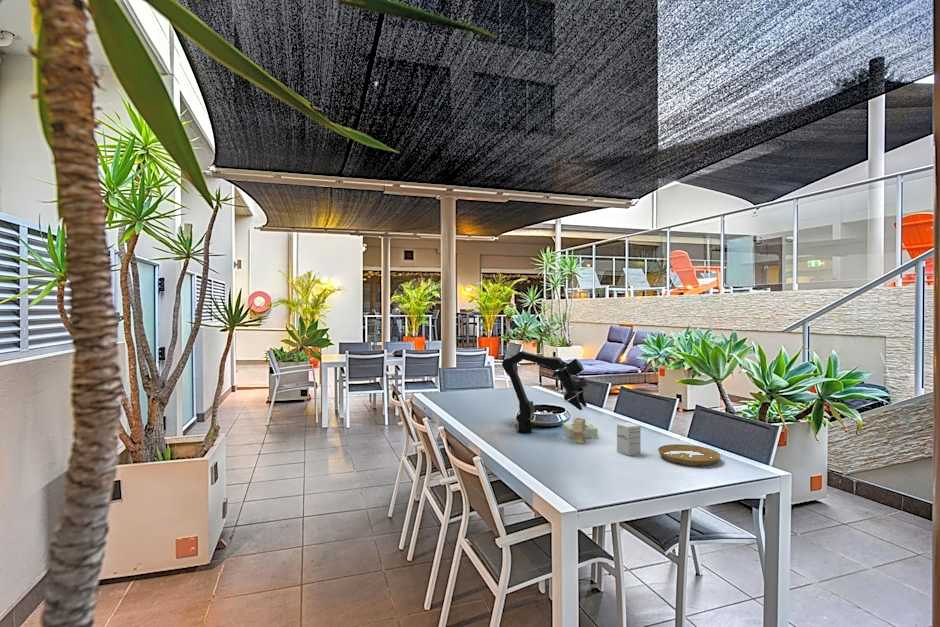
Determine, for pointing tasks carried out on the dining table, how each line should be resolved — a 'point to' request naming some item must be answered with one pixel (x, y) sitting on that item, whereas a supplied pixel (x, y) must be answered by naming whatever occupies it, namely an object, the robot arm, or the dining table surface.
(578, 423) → the maple block
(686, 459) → the plant saucer
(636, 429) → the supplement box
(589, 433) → the slot box
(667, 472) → the dining table surface
